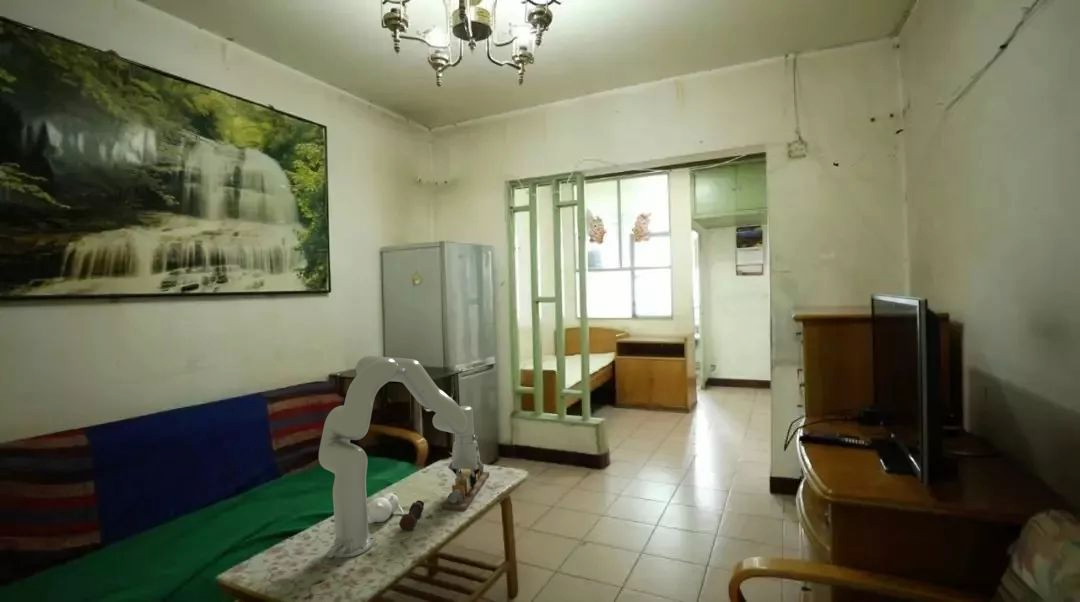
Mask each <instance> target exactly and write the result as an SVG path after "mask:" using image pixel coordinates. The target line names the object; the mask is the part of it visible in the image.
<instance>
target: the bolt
mask: <svg viewBox="0 0 1080 602" xmlns="http://www.w3.org/2000/svg"><path fill="white" fill-rule="evenodd" d="M424 507H425V502H424V501H422V500H416V501H415V502H412V504H411V506H410V508H409V509H408V513H404V515H402V517H400V518H401V519H400V520H399V522H398V526H399V527H400V529H401V531H403V532H411V531H414V528H415V527H416V525H417V523H418V519H417V518H418V517H420V516H421V515H422V513H423V511H424V509H425V508H424Z"/></svg>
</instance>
